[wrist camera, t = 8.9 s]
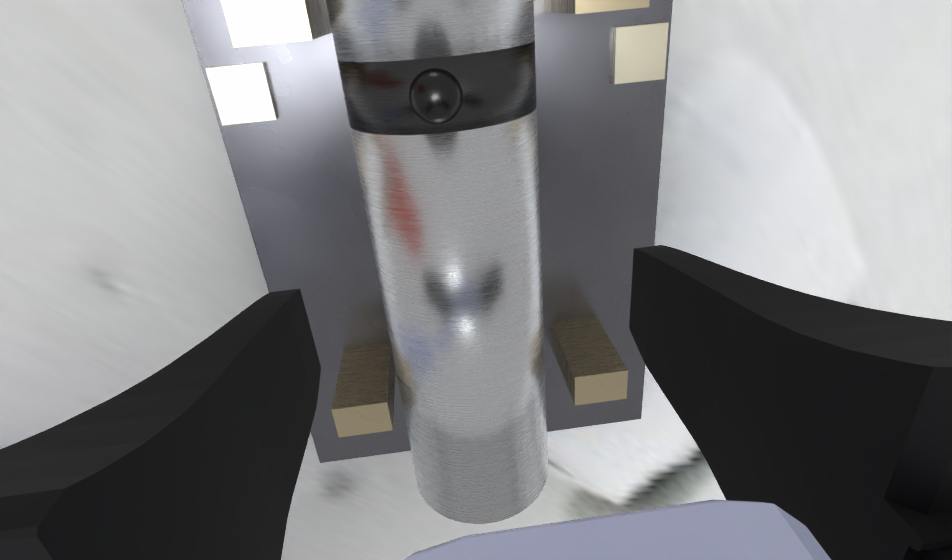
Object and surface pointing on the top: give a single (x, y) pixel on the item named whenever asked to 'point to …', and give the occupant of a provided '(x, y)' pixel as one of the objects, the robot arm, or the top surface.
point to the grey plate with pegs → (345, 221)
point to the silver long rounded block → (455, 235)
